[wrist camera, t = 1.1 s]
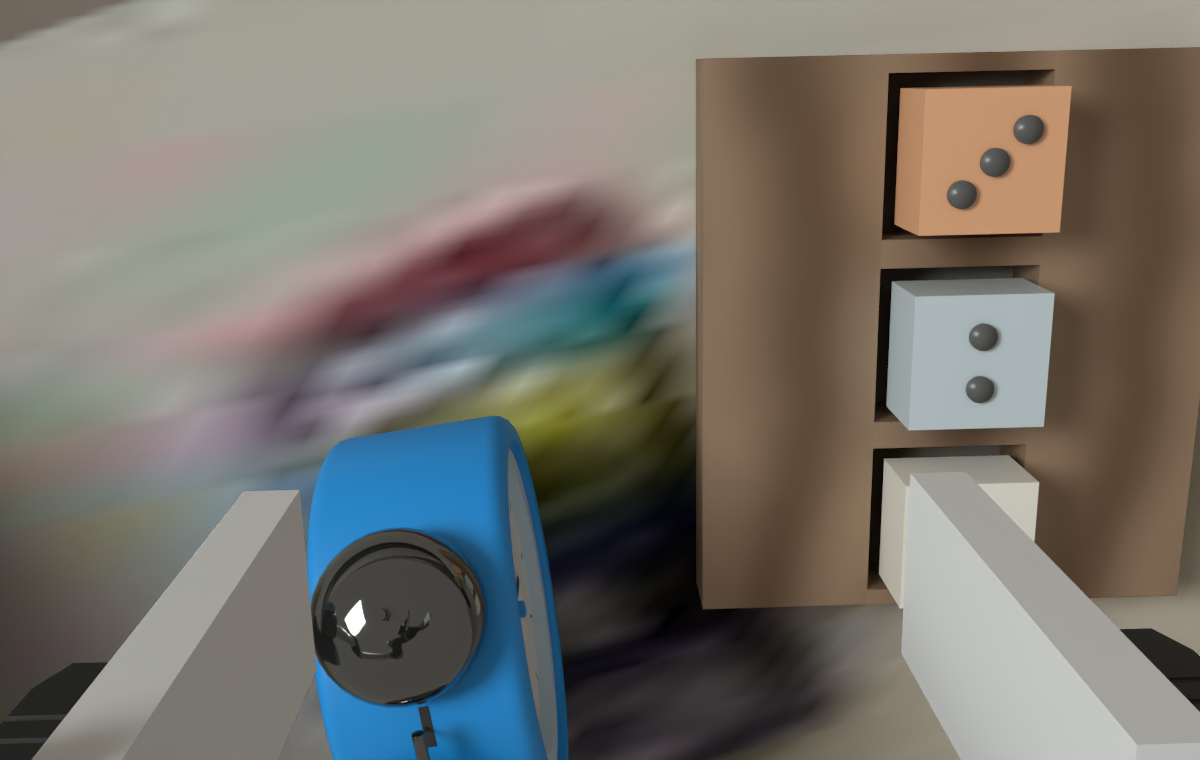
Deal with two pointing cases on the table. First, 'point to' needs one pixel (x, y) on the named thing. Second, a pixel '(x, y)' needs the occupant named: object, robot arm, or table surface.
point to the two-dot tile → (969, 353)
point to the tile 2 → (990, 472)
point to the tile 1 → (981, 159)
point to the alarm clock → (434, 599)
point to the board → (861, 249)
